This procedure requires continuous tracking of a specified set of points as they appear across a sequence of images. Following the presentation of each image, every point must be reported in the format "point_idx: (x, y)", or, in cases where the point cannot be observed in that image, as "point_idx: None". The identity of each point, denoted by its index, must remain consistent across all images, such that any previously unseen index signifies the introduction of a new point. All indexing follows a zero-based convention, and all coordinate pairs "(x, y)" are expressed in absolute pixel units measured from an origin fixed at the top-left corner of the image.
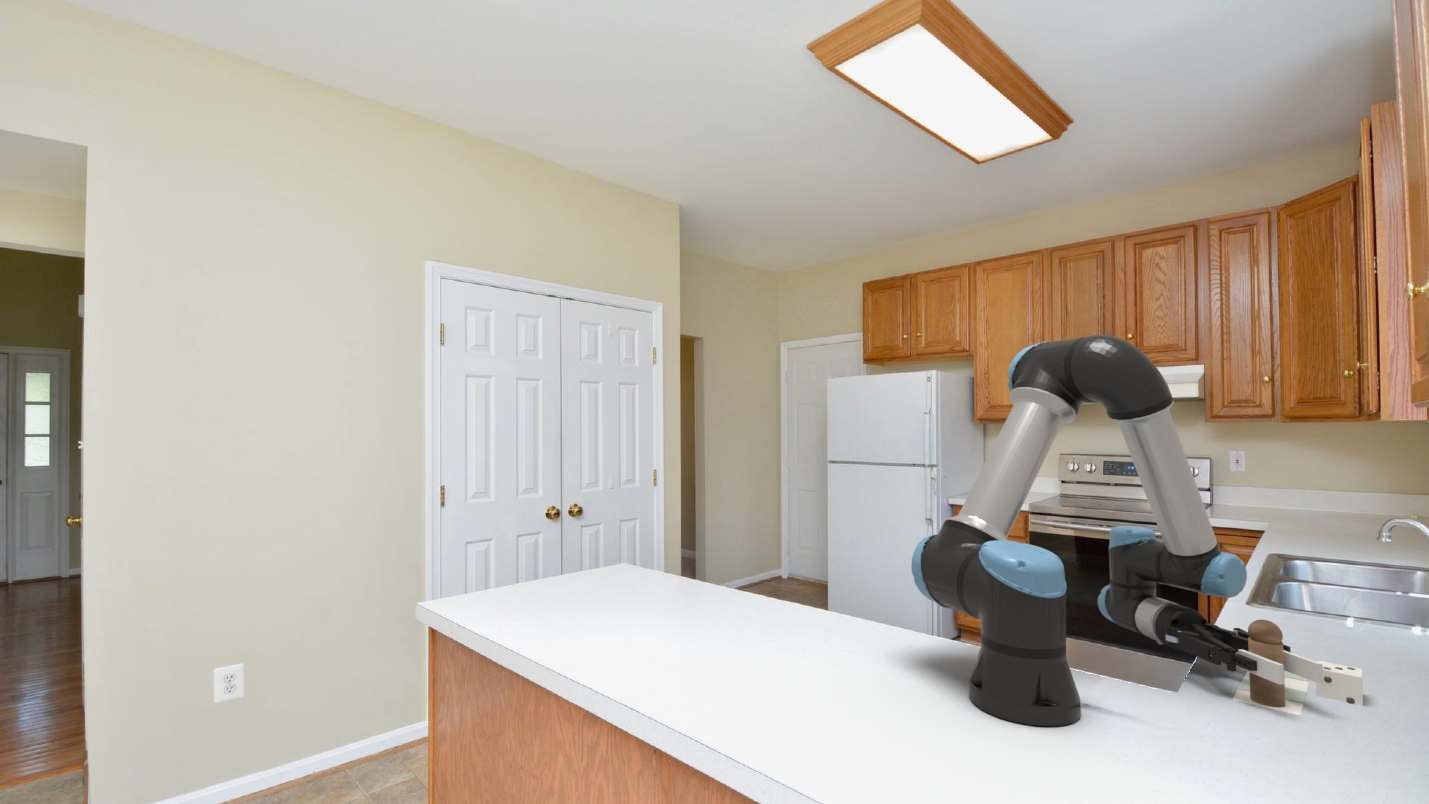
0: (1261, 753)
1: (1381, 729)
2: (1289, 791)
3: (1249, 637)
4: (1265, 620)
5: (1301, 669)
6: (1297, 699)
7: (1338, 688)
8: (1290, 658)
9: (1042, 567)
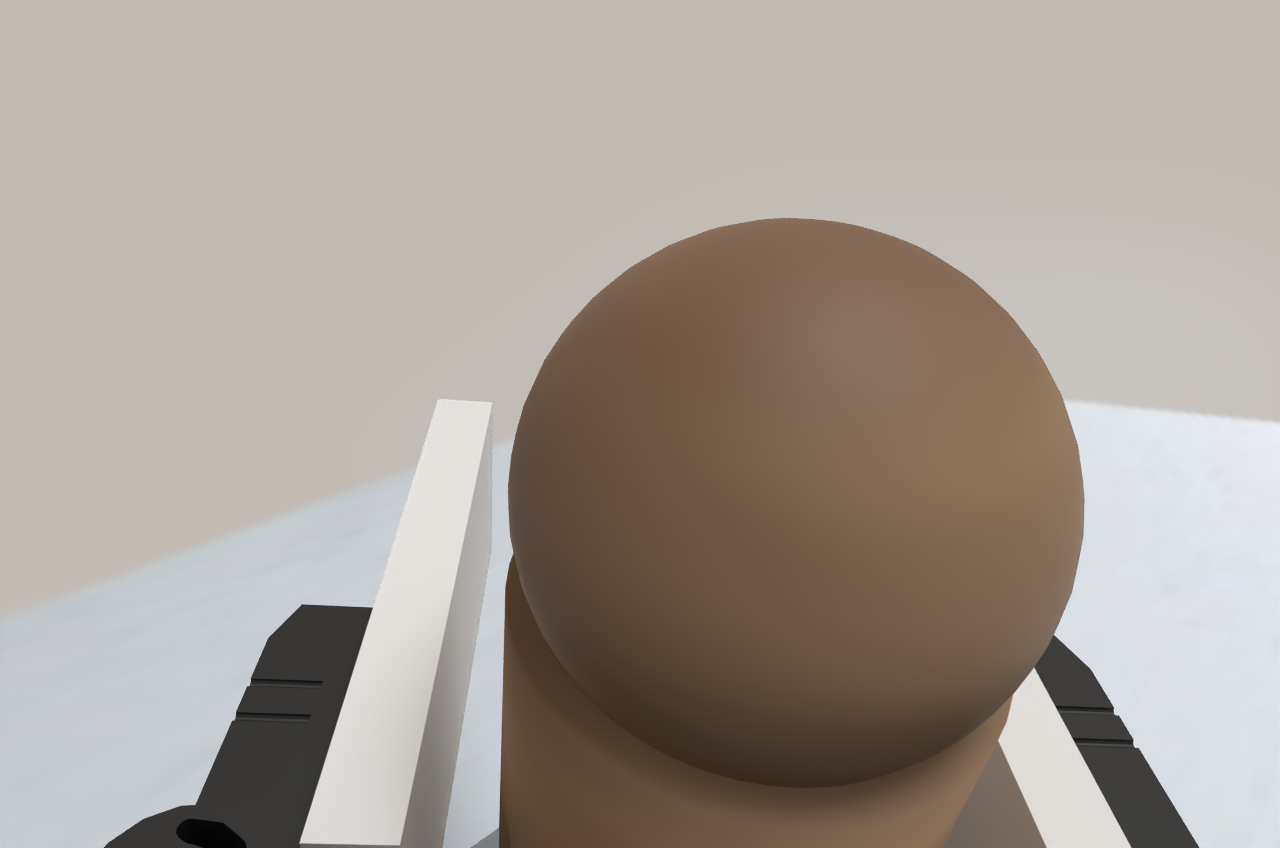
0: (1094, 559)
1: (156, 671)
2: (1110, 410)
3: (953, 759)
4: (839, 233)
5: (472, 609)
6: None
7: None
8: (448, 655)
9: None
